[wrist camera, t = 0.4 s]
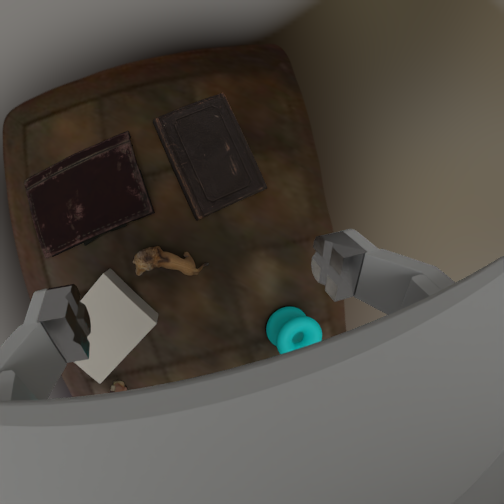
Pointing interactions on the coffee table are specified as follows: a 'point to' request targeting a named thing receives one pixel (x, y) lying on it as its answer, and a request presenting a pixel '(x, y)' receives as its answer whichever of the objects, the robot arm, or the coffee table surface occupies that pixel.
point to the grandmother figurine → (118, 387)
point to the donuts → (292, 329)
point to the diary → (87, 195)
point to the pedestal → (114, 324)
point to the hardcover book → (209, 155)
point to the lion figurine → (164, 261)
